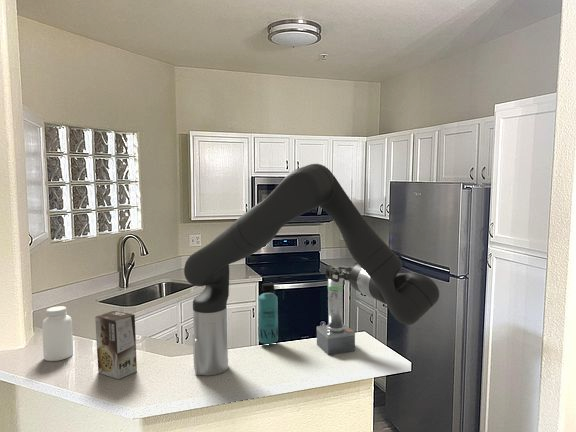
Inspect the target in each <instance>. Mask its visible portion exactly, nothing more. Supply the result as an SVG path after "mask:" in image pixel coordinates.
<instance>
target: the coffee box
mask: <svg viewBox="0 0 576 432" xmlns="http://www.w3.org/2000/svg"><path fill="white" fill-rule="evenodd" d="M135 316H136V315H135V314H134V313H130V312H129V313H128V312H122V311H117V310H112V311H109V312H105V313H102V314H100V315H96V316H94V319H95V321H94V322H95V335H96V338H95V339H96V353H97V355H96V356H97V373H98V374H100V375H105V376H108V377H110V378H113V379H116V380H121V379H122V378H125V377H127V376H129V375H132V374H133V373H136V372H137V371H138V367H137V366H138V364H137V363H138V362H137V340H136V339H137V338H136V317H135Z"/></svg>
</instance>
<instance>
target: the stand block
mask: <svg viewBox="0 0 576 432" xmlns="http://www.w3.org/2000/svg"><path fill="white" fill-rule="evenodd" d="M327 325H328V324H326V325H317V326H316V345H317V347H319V348H320V349H321V350H322V351H323V352H324V353H325V354H327V356H332V355H338V354H345V353H352V352H355V351H356V331H355V330H352V329H351V328H350V327H348V326H347V325H345V324H344V323H343V325H344V326H345V330H344V331H342V332H330V331H328V330H327Z"/></svg>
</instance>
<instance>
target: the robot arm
mask: <svg viewBox="0 0 576 432" xmlns="http://www.w3.org/2000/svg"><path fill="white" fill-rule="evenodd" d="M318 207H320V208H321V209H322V210H323V211H324V212H326V213H327V215H329V217H330V218H331V219H332V221H333V222H334V223H335V225H336V227H337V228H338V230H339V231H340V232H339V233H341V237H342V239H343V241H344V243H345V246H346V248H347V250H348V252H349V253H350V255H351V256H352V258H353V260H354V261H355V263H354V266H343V265H341V266H338V267H337V266H334V265H332V264H327V265H326V266H325V278H326V279H327V280H328V279H330V280H332V281H334V282H339V280H343V282H344V281H346V282H348V283H350V286H351V287H352V289H354V290H355V291H357V292H359V293H361V294H363V295H365V296H367V297H369V298H371V299H375V300H377V301H378V302H380V303H383V304H384V305H386V306H387V308H388V310H389V311H390V314H391V315H392V316H393V317H394V319H395V320H397V322H399V323H401V324H403V325H406V326H411V325H414V324H415V323H417V322H418V321H419V320H420V319H421V318H422V317H423V316H424V315H425V314H427V312H428V311H429V310H430V309H431V308H433V306H434V305H435V304H436V303H437V302H438V301H439V298H440V289H439V287H438V285H437V284H436V283H435V281H434V280H433V279H431V278H430V277H429V276H427V275H424V274H422V273H417V272H400V271H401V269H402V267H403V262H402V260H401V259H400V257H399V256H398V255H397V254H396V253H395V252H394V251H393V250H392V249H391V248H390V246H388V244H386V242H385V241H384V240H383V239H382V238H381V237H380V236H379V235H378V234H377V233H376V231H374V229H373V228H372V227H371V226H370V225H369V223H368V222H367V220H366V219H365V217H363V215H362V214H361V213H360V211H359V210H358V208H357V207H356V206H355V204H354V203H353V201H352V200H351V198H350V197H349V195H348V194H347V192H346V191H345V190H344V188H343V187H342V186H341V184H340V182H339V180H338V179H337V178H336V176H335V175H334V174H333V172H332V171H331V170H330V169H329V168H327V167H326V166H325V165H323V164H321V163H311V164H307V165H305V166H304V165H303V166H302V167H299V168H295V169H294V170H293V171H291V172H290V173H288V174H287V175H286V176H285V177H284V178H283V179H282V180H281V182H280V183H279V184H278V185H277V186H276V187H275V188H274V189H273V190H272V191H271V192H270V194H269V195H267V197H265V198H264V199H263V200H262V201H260V202H258V203H257V204H255V205H254V206H253V207H252V208H250V209H249V210H247V211H245V212H244V213H243V214H242V215H241V216H240V217H238V218H237V219H236V220H235V221H234V222H233V223H231V225H229V226H228V227H227V228H226V229H225V230H223V231H222V232H221V233H220V234H218V236H216V237H215V238H214V239H213V240H211V242H209V243H208V244H206V245H205V246H203V247H201V248H200V249H198V250H196V251H195V252H194V253H192V254H190V255H189V257H188V258H187V259H186V261H185V264H184V269H183V274H184V276H185V280H186V281H187V282H188V283H189V284H191V285H192V286H193V287H194V286H195V287H204V286H205V287H204V289H203V290H202V291H201V292H200V293H199V294H198V295H196V296H195V298H193V301H192V319H193V320H192V324H193V334H192V342H193V343H192V351H193V353H192V354H193V355H192V356H193V369H194V374H195V375H196V376H200V375H201V376H215V375H219V374H222V373H224V372H226V371H227V370H228V367H229V358H228V357H229V355H228V354H229V351H228V346H229V345H228V317H227V316H228V315H227V314H228V313H227V312H228V307H227V302H228V300H229V296H230V265H231V264H233V263H236V262H239V261H241V260H243V259H246V258H248V257H250V256H252V255H253V254H256V253H257V252H258V251H260V250H261V249H262V248H263V247H265V246H267V245H268V244H269V243H271V241H273V239H274V238H275V237H276V236H277V234H278V233H279V231H280V230H281V229H282V228H283V227H284V226H285V225H286V224H288V223H290V222H291V221H294V220H295V219H297V218H299V217H300V216H302V215H304V214H306V213H308V212H312V210H315V209H317V208H318ZM399 272H400V273H399Z"/></svg>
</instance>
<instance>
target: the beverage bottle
mask: <svg viewBox="0 0 576 432" xmlns="http://www.w3.org/2000/svg"><path fill="white" fill-rule="evenodd" d="M275 290H276V289H275V284H274V283H273V282H272V283H271V282H264V283H262V284H261V291H262V292H263V293H261V294H259V296H258V319H257V320H258V328H257V330H258V331H257V336H258V341H259V342H260V343H261V344H267V345H268V344H274V343H276V342H278V339H279V318H278V317H279V310H278V309H279V308H278V304H279V303H278V300H279V299H278V298H279V297H278V296H277V295H276V294H275V293H274V292H273V291H275Z"/></svg>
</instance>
